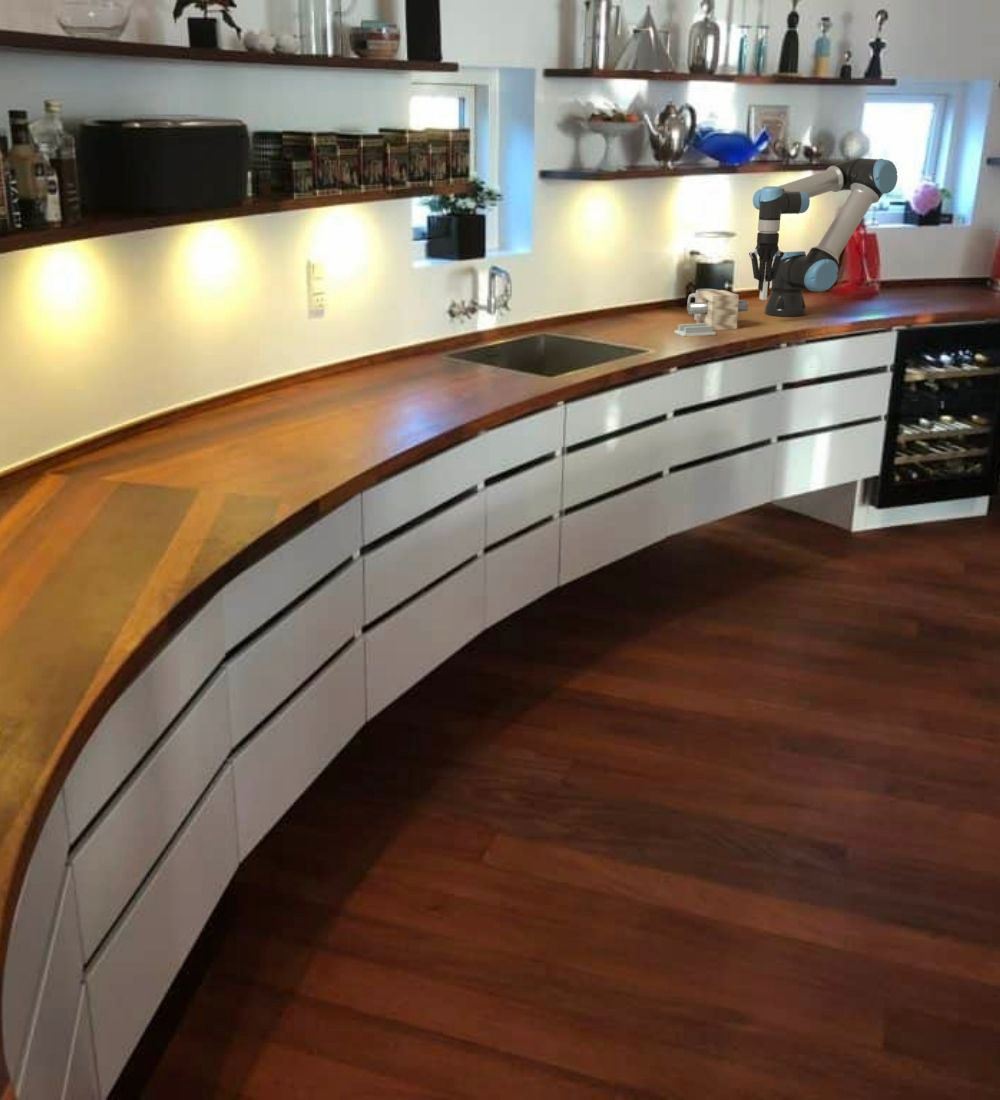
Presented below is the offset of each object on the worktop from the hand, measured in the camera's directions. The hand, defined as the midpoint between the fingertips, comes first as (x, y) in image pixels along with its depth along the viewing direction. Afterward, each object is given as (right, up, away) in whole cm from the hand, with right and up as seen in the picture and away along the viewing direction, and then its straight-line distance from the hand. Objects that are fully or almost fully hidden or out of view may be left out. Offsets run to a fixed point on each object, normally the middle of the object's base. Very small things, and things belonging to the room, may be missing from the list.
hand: (762, 299), depth 437 cm
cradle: (-27, -15, -14) cm, 33 cm away
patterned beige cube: (-17, -10, -1) cm, 20 cm away
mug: (-20, -5, +13) cm, 24 cm away
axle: (-17, -4, -4) cm, 18 cm away
